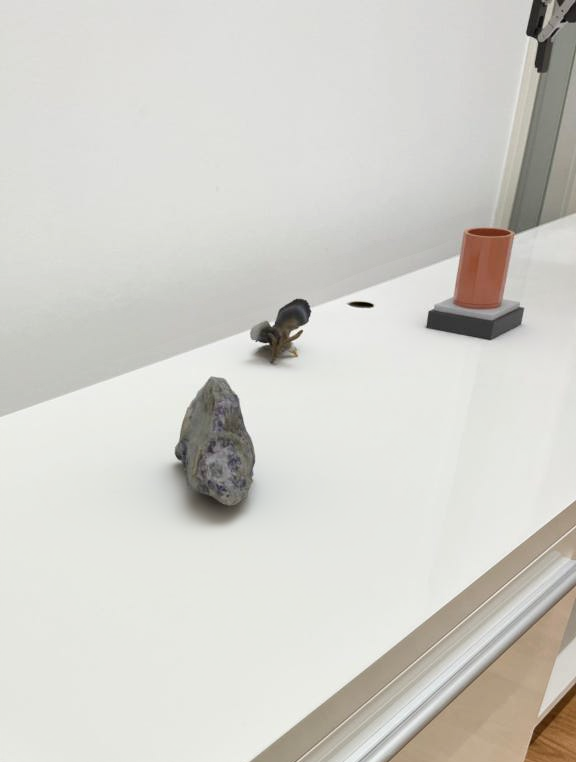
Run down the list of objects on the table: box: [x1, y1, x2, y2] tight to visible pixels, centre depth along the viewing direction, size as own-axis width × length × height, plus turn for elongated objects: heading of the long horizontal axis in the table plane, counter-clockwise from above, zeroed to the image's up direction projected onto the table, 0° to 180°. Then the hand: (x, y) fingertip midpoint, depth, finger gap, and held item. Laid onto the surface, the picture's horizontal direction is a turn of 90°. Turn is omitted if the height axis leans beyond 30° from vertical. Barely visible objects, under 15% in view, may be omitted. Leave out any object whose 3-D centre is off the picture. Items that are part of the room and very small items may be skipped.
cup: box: [452, 226, 516, 309], centre depth 135 cm, size 6×6×9 cm
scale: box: [425, 296, 525, 340], centre depth 138 cm, size 9×9×3 cm
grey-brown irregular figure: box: [249, 298, 312, 364], centre depth 129 cm, size 8×7×9 cm
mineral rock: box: [174, 375, 256, 506], centre depth 94 cm, size 13×11×10 cm
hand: (572, 73), depth 143 cm, fingers open, 8 cm apart
